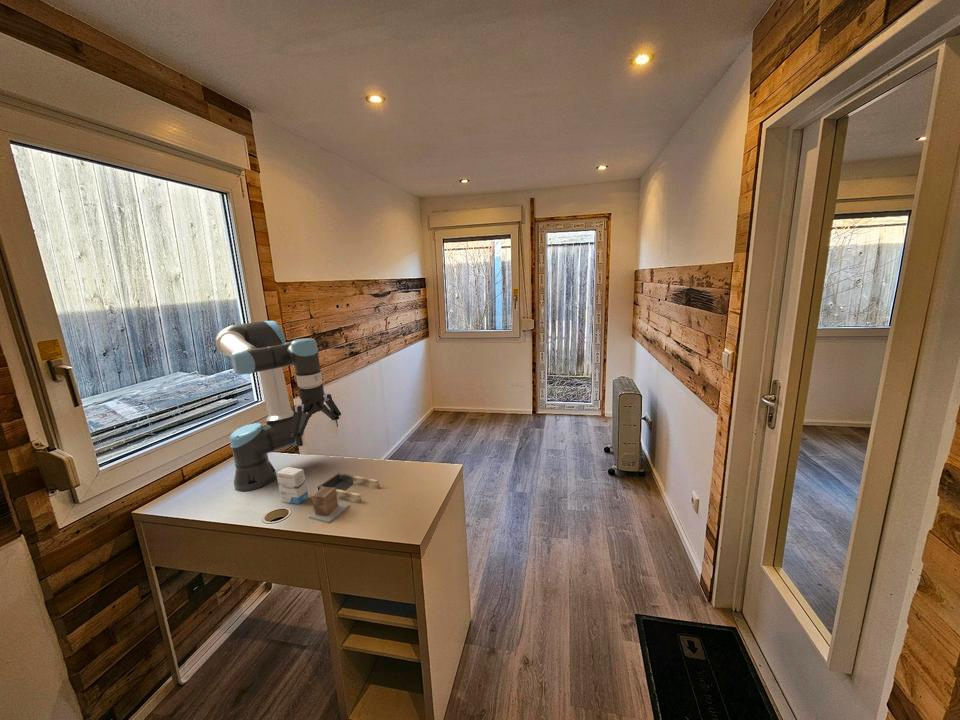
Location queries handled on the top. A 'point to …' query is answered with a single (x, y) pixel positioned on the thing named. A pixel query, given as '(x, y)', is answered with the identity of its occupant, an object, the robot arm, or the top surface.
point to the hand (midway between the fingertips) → (320, 445)
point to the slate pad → (333, 514)
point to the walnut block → (325, 501)
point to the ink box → (292, 485)
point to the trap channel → (346, 481)
